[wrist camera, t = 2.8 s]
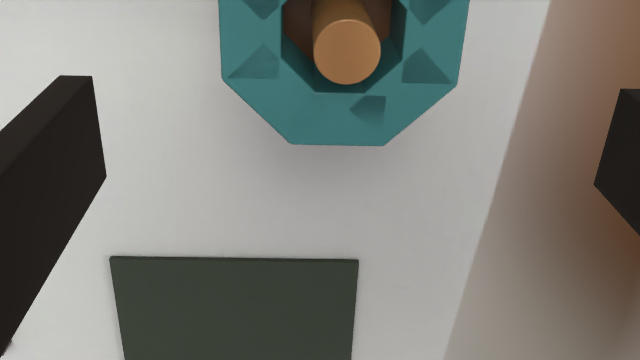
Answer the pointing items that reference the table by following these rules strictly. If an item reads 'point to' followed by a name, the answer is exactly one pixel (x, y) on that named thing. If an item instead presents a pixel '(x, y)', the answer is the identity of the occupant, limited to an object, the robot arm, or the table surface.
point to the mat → (235, 308)
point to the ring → (332, 98)
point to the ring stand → (339, 35)
